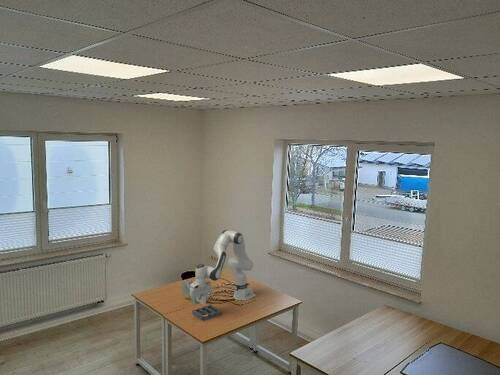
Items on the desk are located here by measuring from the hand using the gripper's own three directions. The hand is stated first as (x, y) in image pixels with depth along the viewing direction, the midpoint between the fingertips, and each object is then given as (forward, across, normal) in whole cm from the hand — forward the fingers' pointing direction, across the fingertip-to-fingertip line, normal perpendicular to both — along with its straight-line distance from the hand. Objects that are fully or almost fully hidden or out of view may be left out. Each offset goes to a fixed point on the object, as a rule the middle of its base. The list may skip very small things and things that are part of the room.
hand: (200, 299), depth 332 cm
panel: (+3, 0, 0) cm, 3 cm away
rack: (+16, -6, 0) cm, 17 cm away
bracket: (+16, -12, -29) cm, 35 cm away
